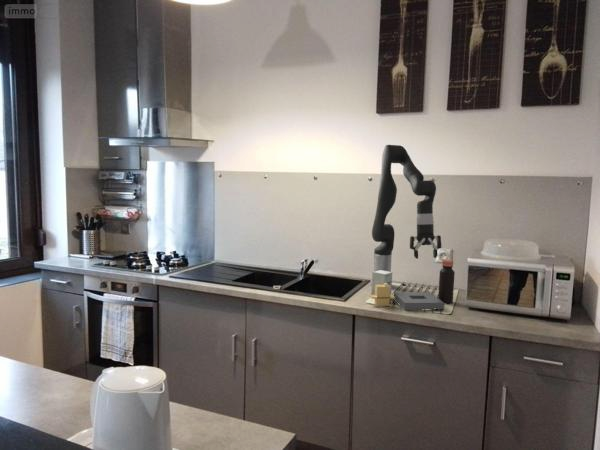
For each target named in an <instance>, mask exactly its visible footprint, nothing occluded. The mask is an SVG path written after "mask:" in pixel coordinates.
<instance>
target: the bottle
mask: <svg viewBox="0 0 600 450" xmlns="http://www.w3.org/2000/svg"><path fill="white" fill-rule="evenodd" d="M441 263H442V264H441V266H442V268H441V269H440V270H439V279H438V280H439V281H438V294H437V298H438V299H440V300H441V301H442V302H444V303H446V304H445V305H450V303H451V304H453V303H454V290H455V289H454V288H455V275H456V274H455V273H456V272H455V270H453V267H454V260H447V259H444V260H442V262H441Z"/></svg>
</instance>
